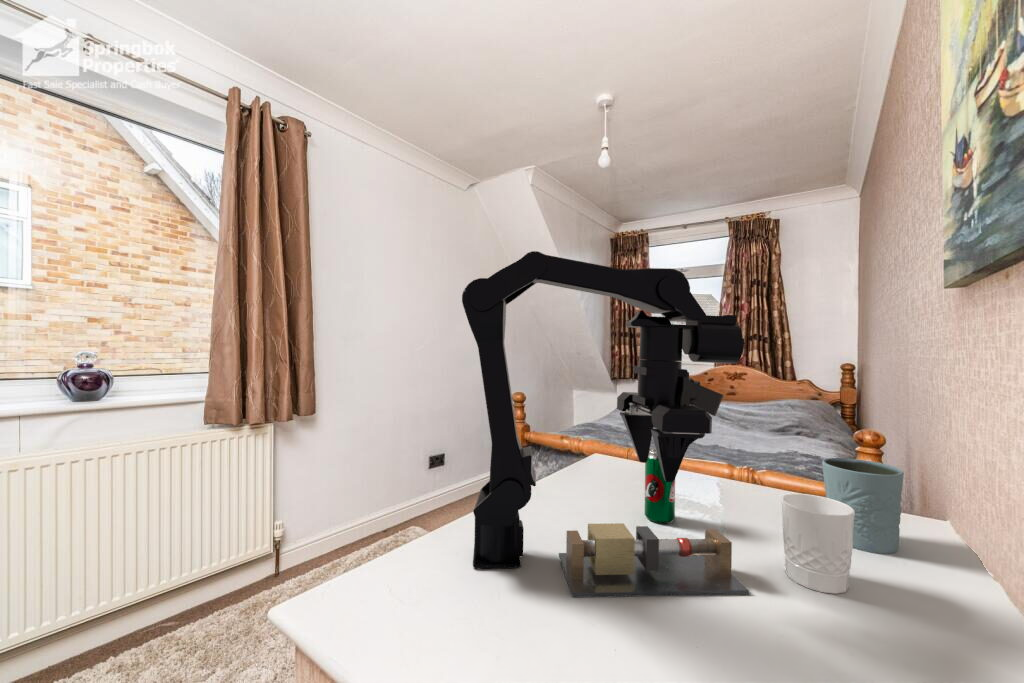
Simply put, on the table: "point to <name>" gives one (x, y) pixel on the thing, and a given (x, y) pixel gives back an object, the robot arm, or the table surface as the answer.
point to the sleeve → (612, 549)
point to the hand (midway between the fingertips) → (655, 471)
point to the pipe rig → (679, 570)
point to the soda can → (658, 492)
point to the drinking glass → (868, 500)
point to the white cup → (818, 541)
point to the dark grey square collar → (648, 548)
